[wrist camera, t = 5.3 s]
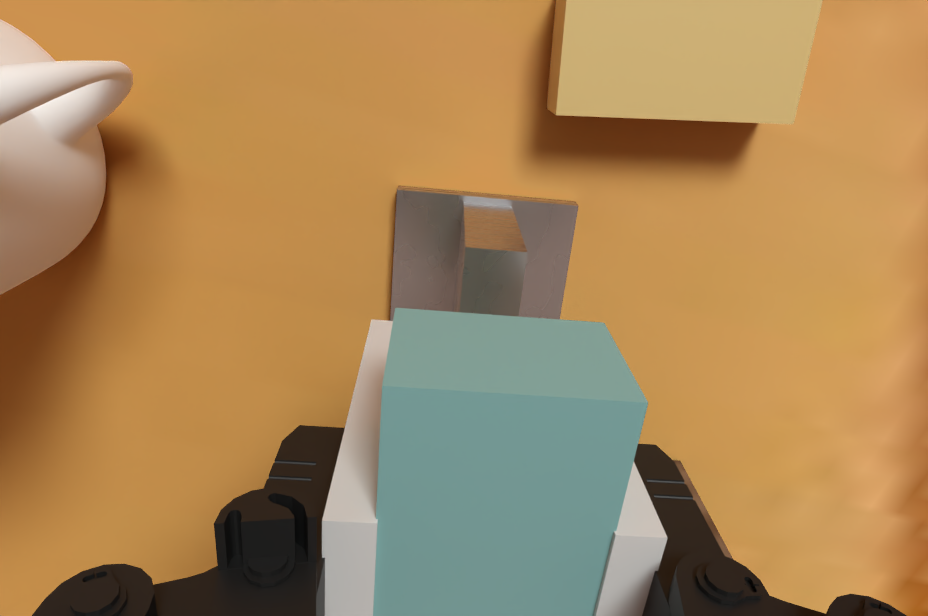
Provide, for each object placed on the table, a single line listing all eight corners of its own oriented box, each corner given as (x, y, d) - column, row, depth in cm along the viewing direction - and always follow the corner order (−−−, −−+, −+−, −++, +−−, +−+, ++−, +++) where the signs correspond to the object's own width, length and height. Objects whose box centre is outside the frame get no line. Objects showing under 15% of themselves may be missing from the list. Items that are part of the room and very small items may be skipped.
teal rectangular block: (395, 307, 10) (381, 385, 8) (604, 322, 10) (648, 402, 8) (378, 619, 13) (365, 740, 11) (542, 625, 13) (562, 746, 11)
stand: (398, 186, 21) (379, 232, 16) (575, 201, 21) (613, 252, 16) (389, 355, 23) (371, 442, 18) (548, 367, 24) (573, 457, 19)
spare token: (545, 107, 20) (555, 115, 18) (555, -10, 19) (567, -17, 17) (757, 115, 21) (793, 124, 18) (781, 0, 19) (823, -5, 17)
